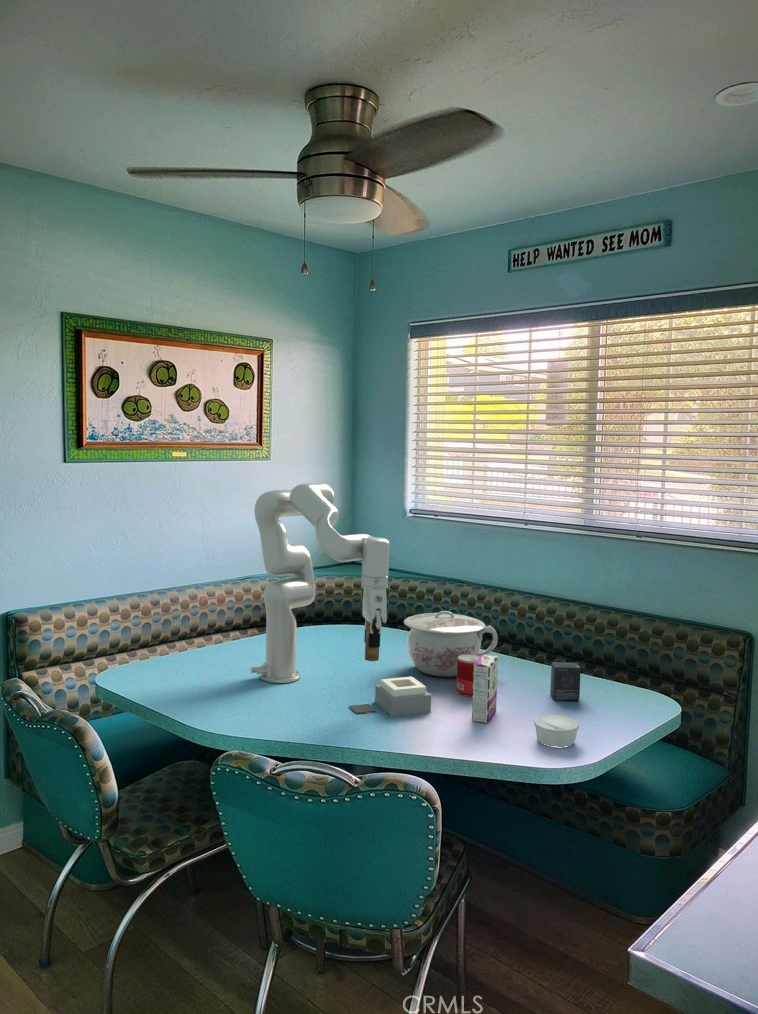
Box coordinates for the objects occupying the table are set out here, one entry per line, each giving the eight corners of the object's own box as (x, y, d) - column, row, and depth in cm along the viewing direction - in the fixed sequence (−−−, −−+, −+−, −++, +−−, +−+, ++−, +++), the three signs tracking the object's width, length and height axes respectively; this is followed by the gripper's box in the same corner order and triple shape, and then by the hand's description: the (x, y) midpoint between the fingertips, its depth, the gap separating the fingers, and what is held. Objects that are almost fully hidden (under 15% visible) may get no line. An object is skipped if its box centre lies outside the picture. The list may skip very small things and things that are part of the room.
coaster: (356, 714, 220) (356, 712, 220) (349, 707, 225) (349, 705, 225) (376, 711, 222) (376, 710, 222) (368, 705, 227) (368, 703, 227)
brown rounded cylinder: (380, 660, 222) (382, 612, 220) (366, 661, 221) (368, 612, 219) (376, 656, 226) (378, 609, 224) (363, 657, 225) (365, 609, 223)
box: (575, 695, 242) (576, 662, 241) (579, 701, 237) (581, 667, 236) (549, 694, 242) (551, 661, 241) (553, 700, 237) (555, 666, 236)
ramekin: (530, 746, 201) (531, 726, 200) (537, 731, 211) (538, 712, 211) (574, 753, 197) (575, 733, 196) (580, 738, 207) (581, 719, 207)
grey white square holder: (391, 716, 219) (392, 691, 218) (375, 701, 231) (375, 678, 230) (430, 712, 223) (431, 688, 223) (412, 697, 235) (412, 674, 235)
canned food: (481, 697, 237) (482, 662, 236) (454, 695, 239) (456, 659, 238) (482, 689, 245) (484, 655, 244) (457, 687, 246) (458, 653, 245)
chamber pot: (384, 669, 263) (386, 608, 262) (439, 655, 282) (441, 598, 281) (447, 690, 243) (450, 624, 242) (501, 673, 262) (504, 613, 261)
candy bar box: (479, 709, 227) (481, 653, 226) (496, 711, 225) (499, 655, 224) (470, 721, 217) (472, 663, 215) (488, 724, 215) (490, 666, 214)
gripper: (395, 587, 214) (392, 652, 216) (379, 575, 230) (377, 636, 232) (369, 587, 212) (366, 653, 214) (354, 576, 228) (352, 637, 230)
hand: (372, 644), depth 223 cm, fingers closed on brown rounded cylinder, 4 cm apart
